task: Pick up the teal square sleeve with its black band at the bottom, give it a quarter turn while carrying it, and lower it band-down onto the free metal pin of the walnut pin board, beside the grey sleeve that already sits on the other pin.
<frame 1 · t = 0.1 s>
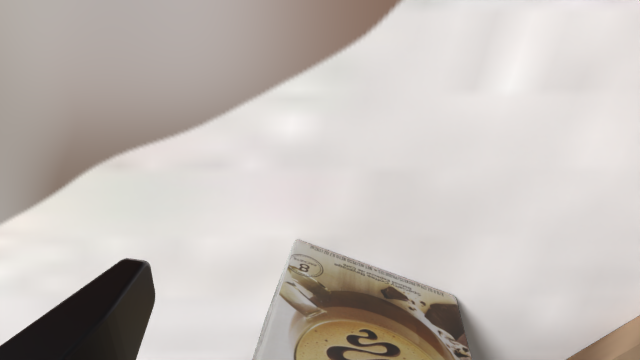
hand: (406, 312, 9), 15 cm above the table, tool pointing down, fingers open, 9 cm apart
coffee box: (355, 308, 27), on the table
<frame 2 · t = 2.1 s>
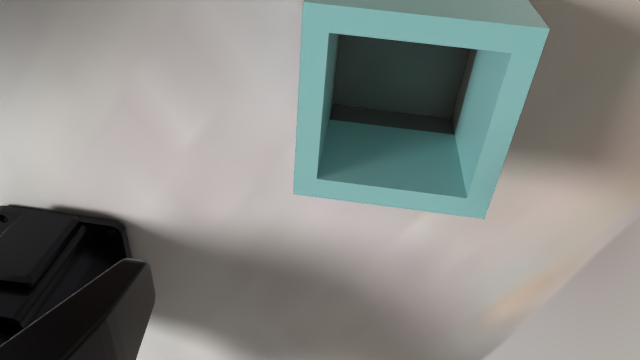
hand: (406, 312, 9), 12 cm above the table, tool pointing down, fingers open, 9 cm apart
teal sleeve: (401, 55, 18), on the table
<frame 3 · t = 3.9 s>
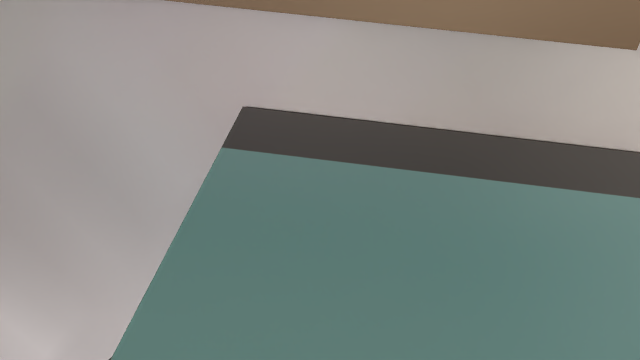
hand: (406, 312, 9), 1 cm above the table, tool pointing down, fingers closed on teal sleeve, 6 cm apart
teal sleeve: (405, 269, 9), on the table, touching gripper
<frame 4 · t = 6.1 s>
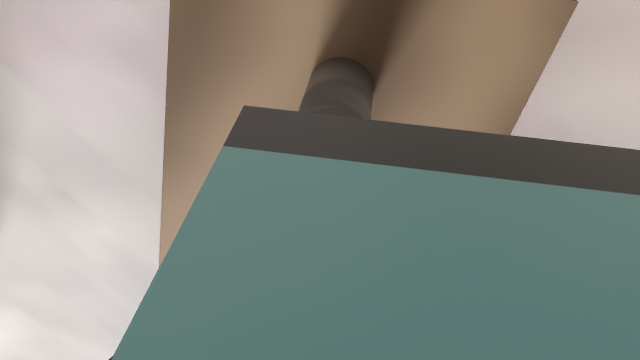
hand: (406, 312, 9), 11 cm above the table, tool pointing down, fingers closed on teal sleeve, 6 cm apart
teal sleeve: (407, 268, 9), point 10 cm above the table, touching gripper
pin board: (308, 206, 22), on the table
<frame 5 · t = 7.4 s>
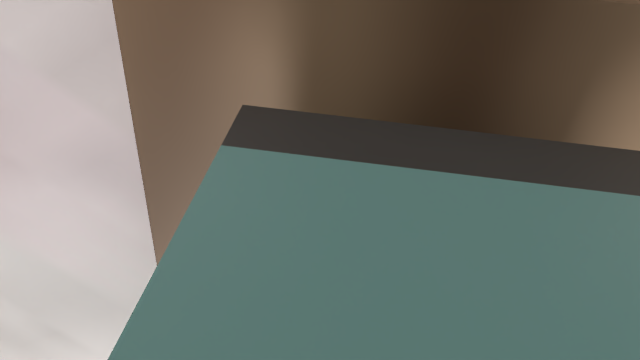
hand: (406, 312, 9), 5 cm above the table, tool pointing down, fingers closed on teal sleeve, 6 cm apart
teal sleeve: (405, 268, 9), point 4 cm above the table, touching gripper
pin board: (366, 324, 16), on the table
when the fingers open (4 cm above the table, at t = 8.3 s): teal sleeve drops 2 cm, resting on pin board.
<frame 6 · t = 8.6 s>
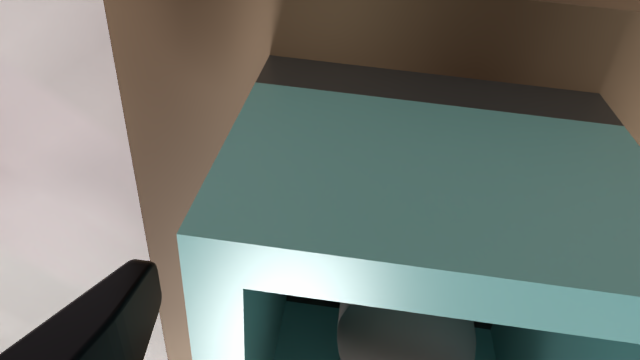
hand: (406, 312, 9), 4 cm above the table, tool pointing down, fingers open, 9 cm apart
teal sleeve: (403, 202, 11), point 1 cm above the table, touching pin board
pin board: (367, 334, 16), on the table
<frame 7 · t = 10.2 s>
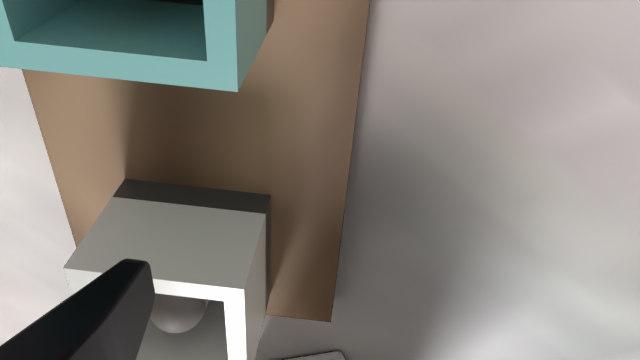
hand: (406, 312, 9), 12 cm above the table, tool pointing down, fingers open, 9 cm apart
pin board: (201, 91, 20), on the table
grey sleeve: (202, 240, 22), point 1 cm above the table, touching pin board
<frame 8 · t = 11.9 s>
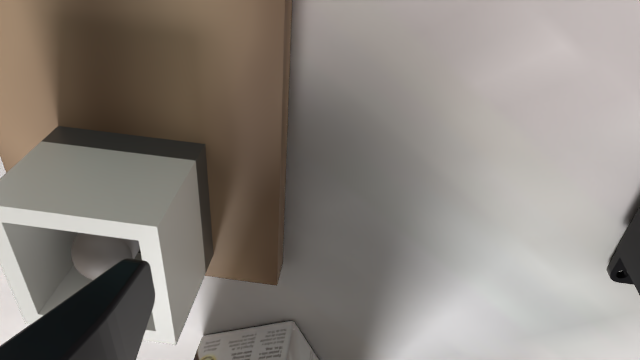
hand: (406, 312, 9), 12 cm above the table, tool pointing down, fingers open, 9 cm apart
pin board: (133, 35, 19), on the table
grey sleeve: (141, 194, 22), point 1 cm above the table, touching pin board
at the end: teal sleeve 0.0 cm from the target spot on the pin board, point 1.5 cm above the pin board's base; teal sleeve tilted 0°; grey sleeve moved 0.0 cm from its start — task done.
